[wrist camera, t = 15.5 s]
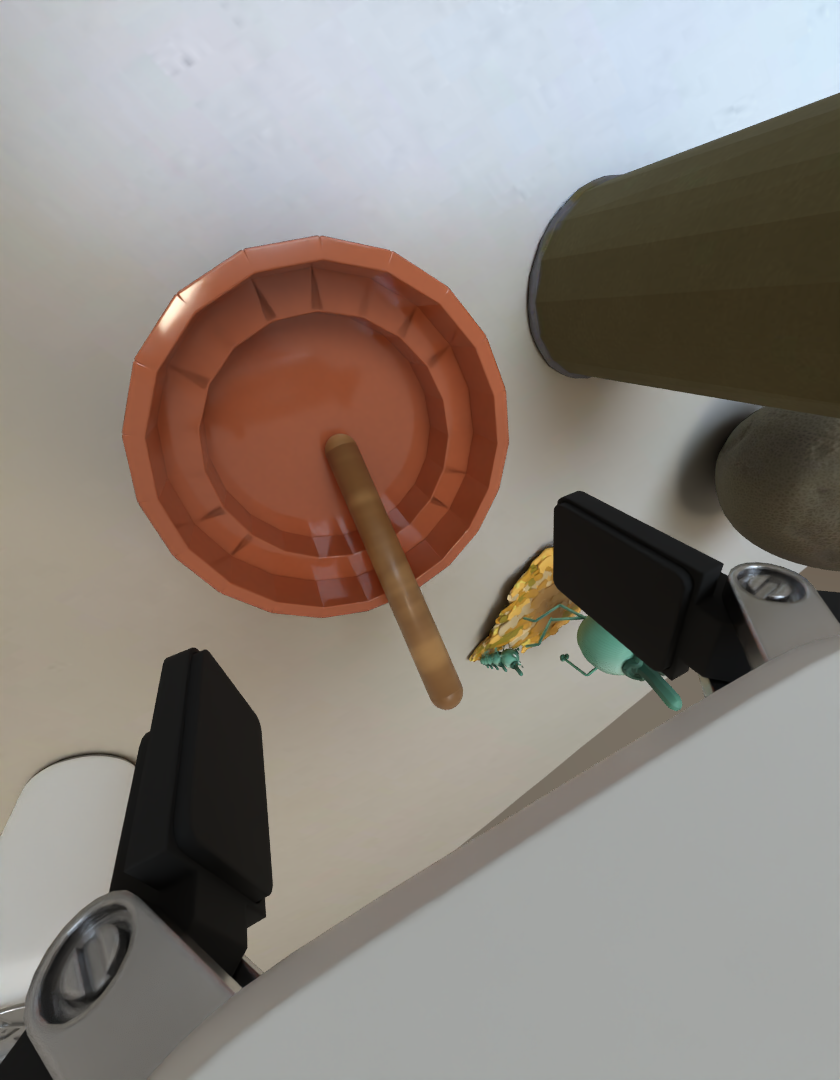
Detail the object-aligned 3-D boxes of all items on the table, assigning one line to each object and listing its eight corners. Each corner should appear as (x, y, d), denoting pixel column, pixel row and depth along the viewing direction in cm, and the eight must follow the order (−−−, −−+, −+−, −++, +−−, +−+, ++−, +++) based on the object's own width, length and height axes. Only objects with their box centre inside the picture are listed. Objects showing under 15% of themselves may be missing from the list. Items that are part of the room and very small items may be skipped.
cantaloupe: (799, 343, 34) (1113, 356, 22) (765, 482, 42) (980, 549, 30) (671, 408, 32) (940, 464, 19) (661, 542, 40) (847, 640, 28)
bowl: (70, 300, 16) (-3, 292, 11) (432, 231, 20) (496, 202, 15) (242, 596, 25) (243, 663, 20) (468, 511, 29) (515, 550, 24)
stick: (324, 430, 20) (449, 718, 19) (355, 424, 21) (474, 699, 20) (315, 446, 22) (430, 714, 21) (344, 440, 23) (455, 696, 22)
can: (86, 736, 25) (-8, 995, 16) (165, 772, 29) (128, 997, 19) (-5, 796, 25) (-161, 1100, 15) (86, 824, 29) (9, 1082, 19)
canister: (566, 410, 28) (1021, 538, 12) (496, 270, 22) (1252, 132, 6) (682, 297, 27) (1337, 266, 11) (643, 119, 21) (2005, -548, 5)
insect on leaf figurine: (435, 615, 32) (574, 767, 20) (591, 491, 35) (790, 561, 23) (473, 674, 38) (600, 821, 26) (605, 563, 41) (772, 649, 29)
